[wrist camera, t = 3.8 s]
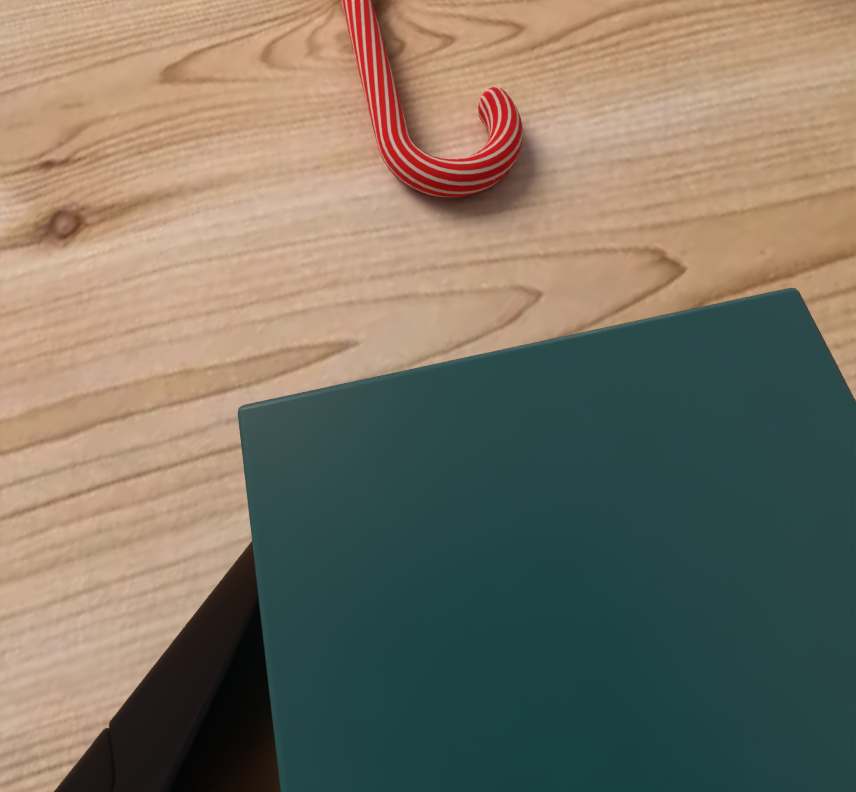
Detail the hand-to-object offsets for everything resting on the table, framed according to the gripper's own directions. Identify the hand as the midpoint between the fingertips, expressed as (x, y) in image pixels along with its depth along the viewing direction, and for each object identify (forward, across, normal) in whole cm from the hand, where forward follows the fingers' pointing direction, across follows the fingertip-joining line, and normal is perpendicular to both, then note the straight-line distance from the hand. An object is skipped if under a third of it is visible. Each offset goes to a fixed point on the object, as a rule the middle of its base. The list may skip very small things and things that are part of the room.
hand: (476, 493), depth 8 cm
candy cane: (+18, -2, -9) cm, 20 cm away
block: (+4, 0, +6) cm, 7 cm away
